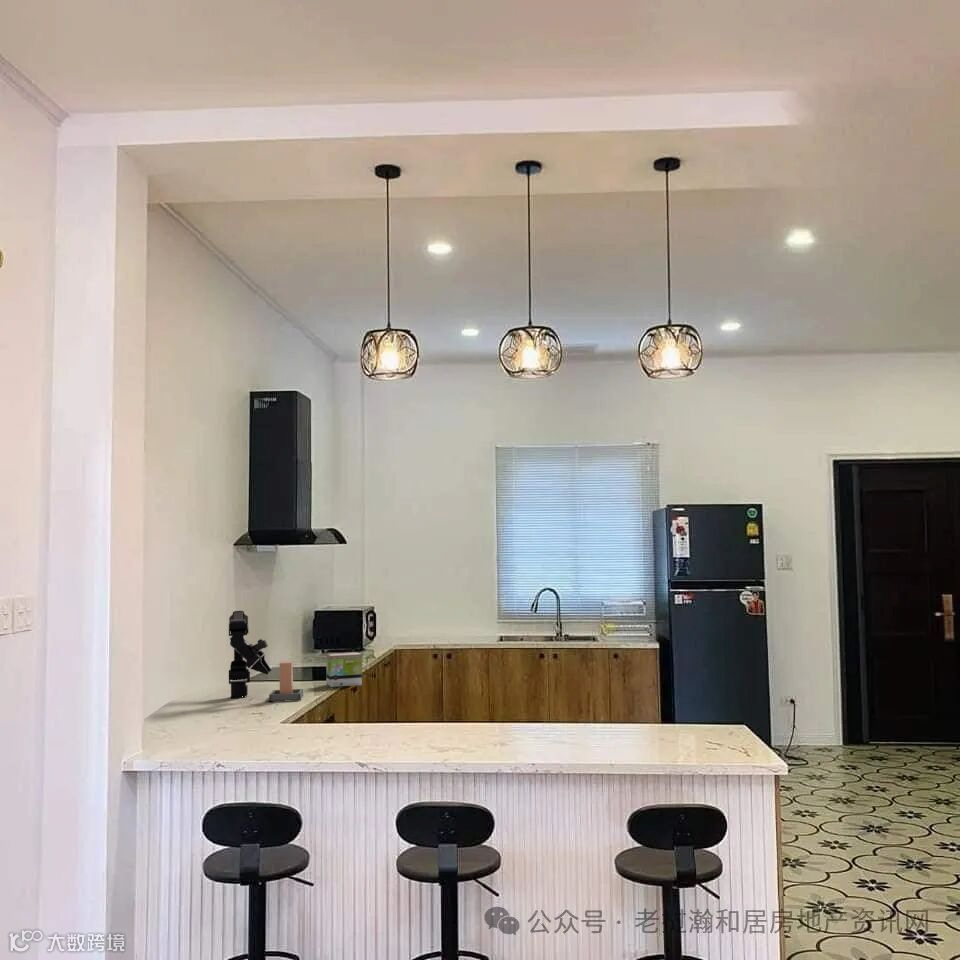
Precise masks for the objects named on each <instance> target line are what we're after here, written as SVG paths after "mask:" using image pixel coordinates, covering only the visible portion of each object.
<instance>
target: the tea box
mask: <svg viewBox="0 0 960 960" xmlns="http://www.w3.org/2000/svg"><path fill="white" fill-rule="evenodd" d="M362 655H363V654H361V653H360V652H357V651H356V652H355V651H354V652H353V651H352V652H335V653H326V667H325V669H326V675H325V676H326V677H325V678H326V680H325V681H326V685H327V684H328V685H329V686H330V687H329V686H328V685H327V686H328V687H329V688H336V687H350V686H352V687H353V686H362V684H363V683H362V681H363V657H362Z"/></svg>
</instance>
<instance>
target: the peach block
mask: <svg viewBox="0 0 960 960" xmlns="http://www.w3.org/2000/svg"><path fill="white" fill-rule="evenodd" d="M293 663H294V662H293V661H292V660H291V661H290V660H289V661H288V660H287V661H280V662H279V690H280V694H293V689H294V677H293V675H294V672H293V671H294V670H293V669H294V668H293V667H294V666H293Z"/></svg>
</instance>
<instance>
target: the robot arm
mask: <svg viewBox="0 0 960 960" xmlns="http://www.w3.org/2000/svg"><path fill="white" fill-rule="evenodd" d="M228 618H229V620H228V621H229V623H228V637H230V638H229V640H230V642H229V645H230V646H231V647H232V648H233V660H232V661H231V662H230V668H229V669H228V684H229V685H230V697H242V696H243V697H244V698H246V697H247V696H248V695H249V689H248V688H249V686H248V684H249V683H251V672H250V670H252V671H256V672H259V673H262V674H265V675H268V674H270V673H271V672H272V669H271V667H270V666H269V664H268V663H267V661H266V659H265V658H266V654H265V652H264V651H263V650H262V649H266V648H267V647H269V646H268V642H267V641H266V639H262V638H260V639H259V640H257V643H255V644H254V645H253V643H249V642H248V641H246V640H245V638H244V637H245V636H248V634H249V616H248V615H246V614H245V610H244V611H243V610H234V611H232V614H231V615H230V616H229V617H228ZM249 669H250V670H249ZM245 696H246V697H245Z"/></svg>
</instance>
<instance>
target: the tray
mask: <svg viewBox="0 0 960 960" xmlns="http://www.w3.org/2000/svg"><path fill="white" fill-rule="evenodd" d="M268 696H269V697H268V702H269V701H283V702H286V701H285V700H300V701H302V699H303V697H304V688H293V694H280V689H273V690H272V691H271V692H270V693H269V694H268ZM302 696H303V697H302ZM301 698H302V699H301Z"/></svg>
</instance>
